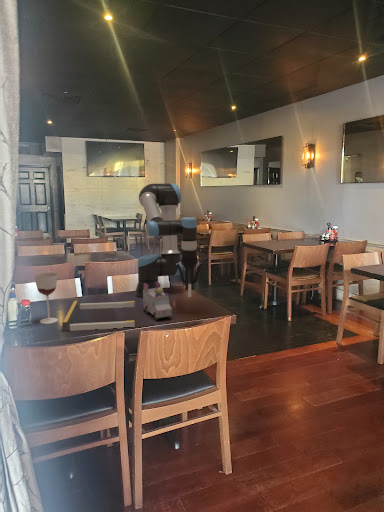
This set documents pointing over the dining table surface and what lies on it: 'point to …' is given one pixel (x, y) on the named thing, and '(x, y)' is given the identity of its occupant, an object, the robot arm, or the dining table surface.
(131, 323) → the dock
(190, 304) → the dining table surface
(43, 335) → the dining table surface
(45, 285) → the wineglass
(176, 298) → the dining table surface
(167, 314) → the toy vehicle
